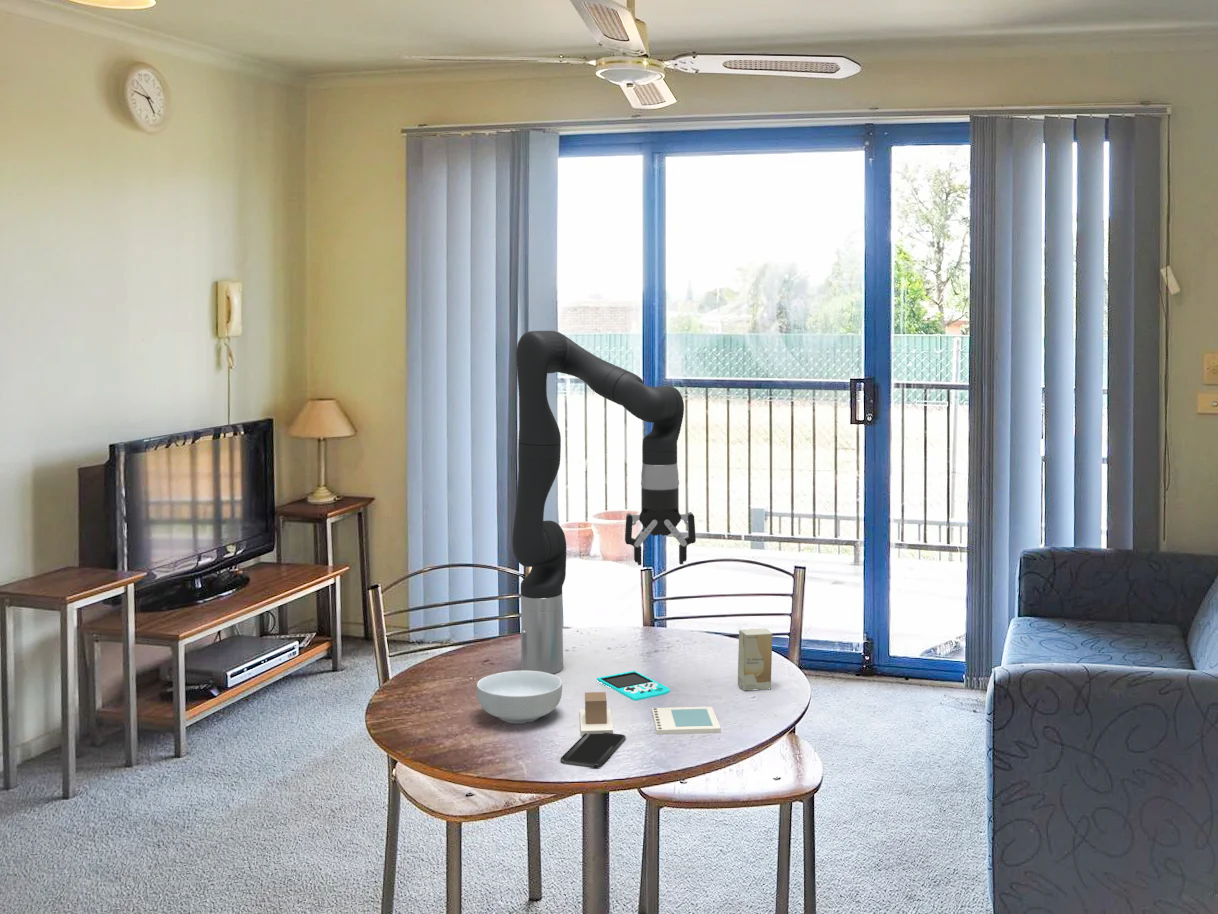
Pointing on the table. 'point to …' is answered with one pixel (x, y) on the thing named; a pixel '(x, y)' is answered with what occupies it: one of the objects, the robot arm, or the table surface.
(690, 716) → the ticket pad
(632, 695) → the handheld game console
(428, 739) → the table surface
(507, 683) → the cereal bowl
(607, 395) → the robot arm
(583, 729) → the brown cream block
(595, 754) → the phone
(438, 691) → the table surface
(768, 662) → the skincare box
